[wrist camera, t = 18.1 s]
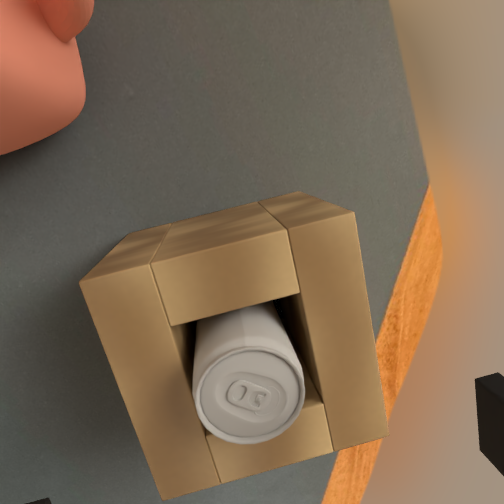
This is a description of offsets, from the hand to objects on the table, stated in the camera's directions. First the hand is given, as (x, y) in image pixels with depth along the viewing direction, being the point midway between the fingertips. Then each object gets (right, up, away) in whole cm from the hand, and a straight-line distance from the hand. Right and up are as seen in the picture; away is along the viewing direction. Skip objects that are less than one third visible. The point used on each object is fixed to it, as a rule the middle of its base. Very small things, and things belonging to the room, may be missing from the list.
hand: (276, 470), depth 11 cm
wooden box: (-2, +4, +15) cm, 16 cm away
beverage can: (-2, +4, +16) cm, 16 cm away
